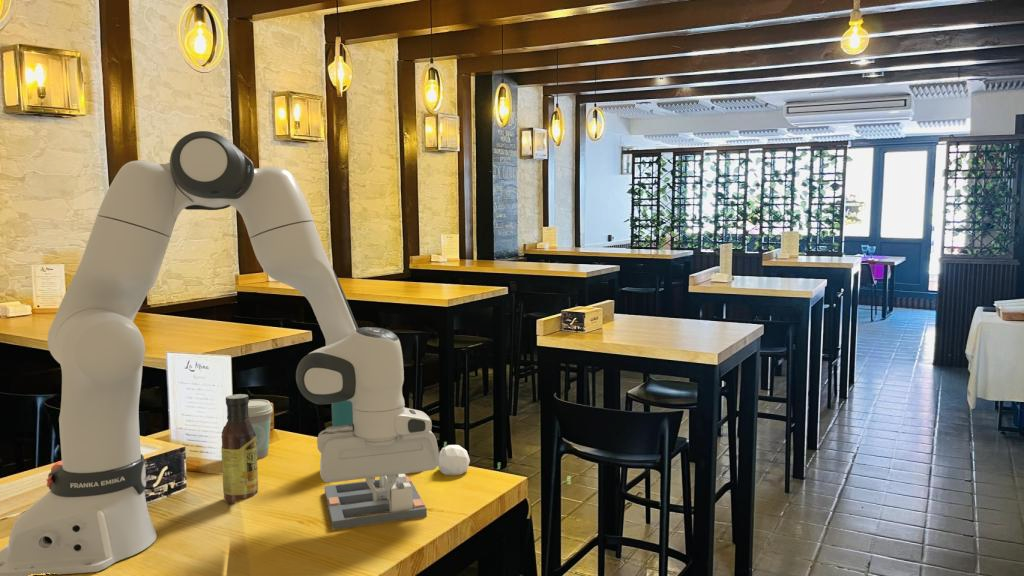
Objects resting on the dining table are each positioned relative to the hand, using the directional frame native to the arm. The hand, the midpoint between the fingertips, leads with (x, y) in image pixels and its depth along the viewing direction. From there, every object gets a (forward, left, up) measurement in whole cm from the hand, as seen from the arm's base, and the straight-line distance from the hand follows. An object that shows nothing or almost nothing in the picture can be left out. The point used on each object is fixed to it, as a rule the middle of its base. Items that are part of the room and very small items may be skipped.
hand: (381, 499), depth 125 cm
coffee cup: (-22, +46, -4) cm, 51 cm away
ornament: (+17, +18, -4) cm, 25 cm away
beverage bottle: (-3, +29, -4) cm, 29 cm away
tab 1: (+3, +12, -3) cm, 13 cm away
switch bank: (-1, +6, -4) cm, 7 cm away
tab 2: (+3, +6, -3) cm, 8 cm away
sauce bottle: (-24, +20, -4) cm, 31 cm away
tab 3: (+3, 0, -3) cm, 5 cm away
